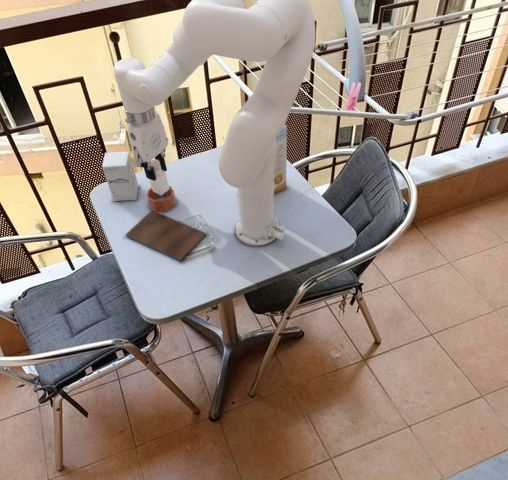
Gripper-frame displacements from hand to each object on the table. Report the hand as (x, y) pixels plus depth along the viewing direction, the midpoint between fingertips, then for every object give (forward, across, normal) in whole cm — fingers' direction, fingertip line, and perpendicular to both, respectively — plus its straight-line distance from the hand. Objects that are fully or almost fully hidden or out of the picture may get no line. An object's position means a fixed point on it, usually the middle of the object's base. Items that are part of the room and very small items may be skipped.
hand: (156, 173), depth 134 cm
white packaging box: (+11, -2, +14) cm, 18 cm away
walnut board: (+11, -11, -9) cm, 18 cm away
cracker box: (+12, +20, -23) cm, 33 cm away
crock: (+11, 0, +1) cm, 11 cm away
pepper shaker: (+6, 0, 0) cm, 6 cm away
